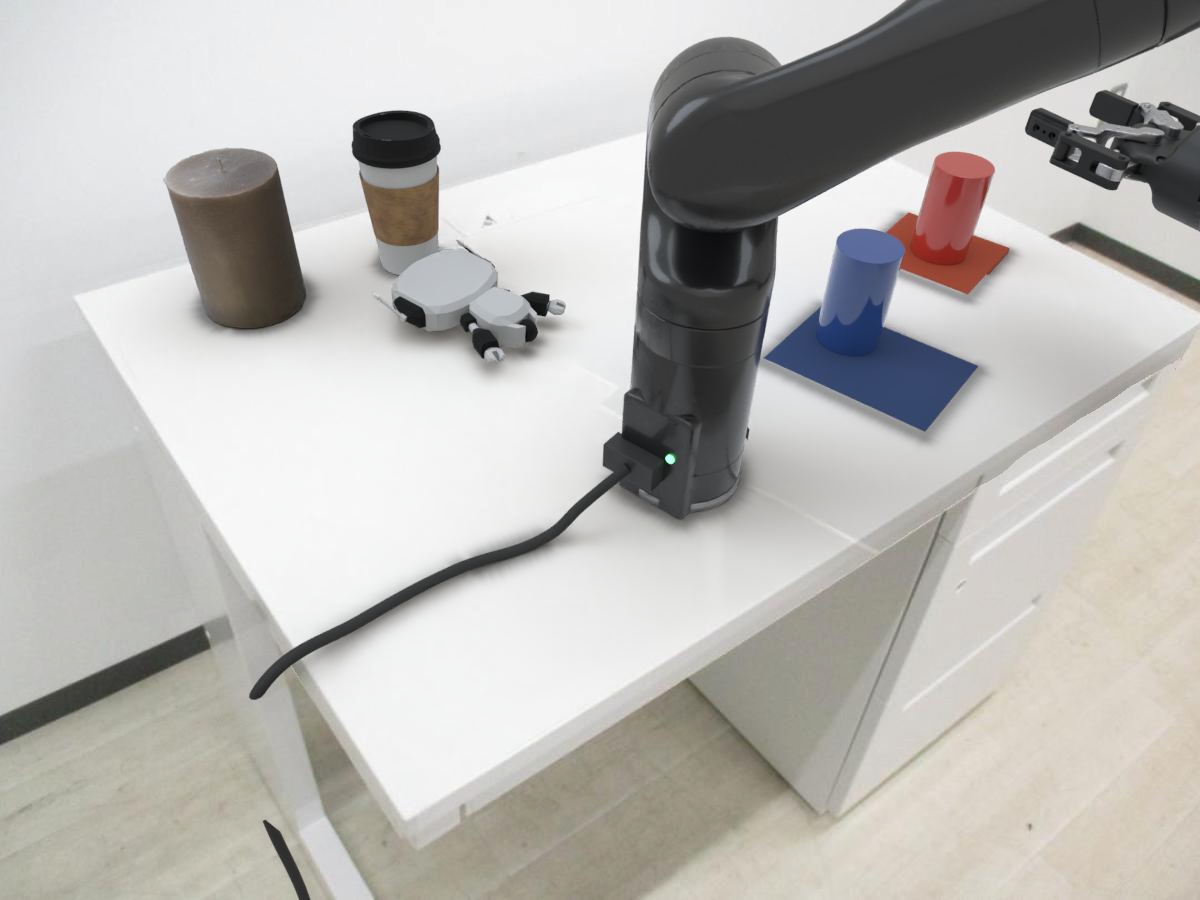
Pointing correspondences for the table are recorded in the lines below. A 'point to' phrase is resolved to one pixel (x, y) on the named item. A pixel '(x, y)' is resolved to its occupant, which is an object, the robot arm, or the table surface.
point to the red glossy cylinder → (951, 207)
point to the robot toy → (468, 301)
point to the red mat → (954, 276)
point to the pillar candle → (237, 236)
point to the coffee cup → (400, 184)
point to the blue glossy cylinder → (859, 291)
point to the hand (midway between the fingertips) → (1063, 110)
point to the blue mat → (879, 372)
